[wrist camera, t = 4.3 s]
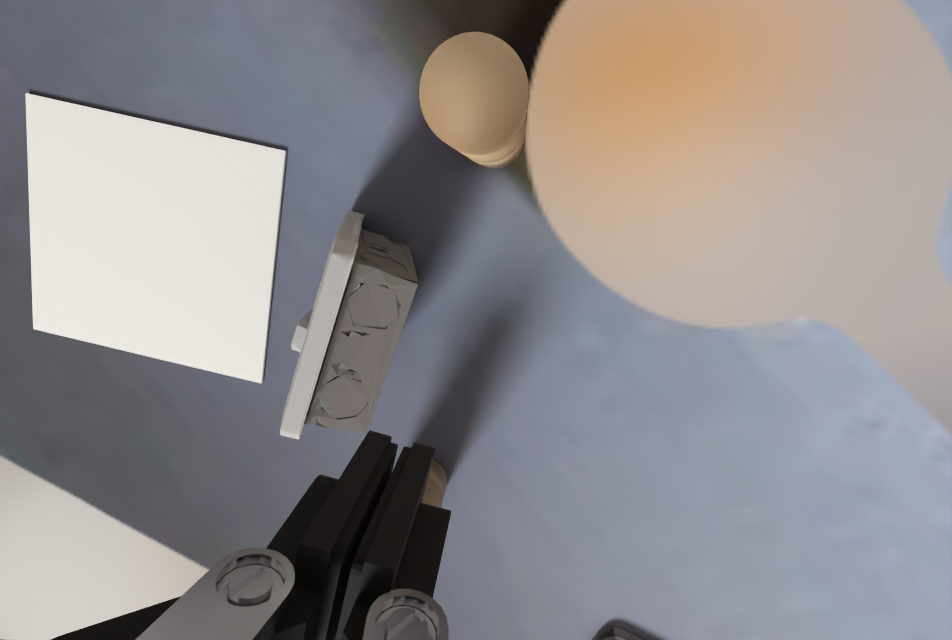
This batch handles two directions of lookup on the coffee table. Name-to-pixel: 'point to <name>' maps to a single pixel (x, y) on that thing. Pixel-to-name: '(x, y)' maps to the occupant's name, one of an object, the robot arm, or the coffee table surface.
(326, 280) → the electrical switch
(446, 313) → the coffee table surface
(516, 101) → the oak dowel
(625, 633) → the phone
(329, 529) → the robot arm
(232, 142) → the mat
